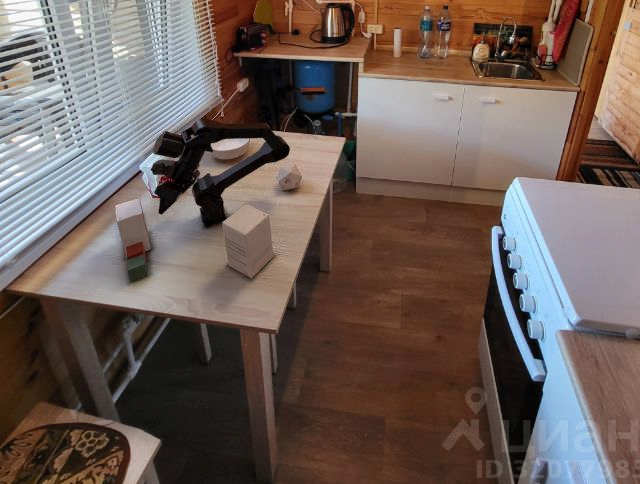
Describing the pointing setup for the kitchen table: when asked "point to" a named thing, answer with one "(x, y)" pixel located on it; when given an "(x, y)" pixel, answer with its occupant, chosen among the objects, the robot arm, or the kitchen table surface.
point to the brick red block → (135, 250)
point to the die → (289, 177)
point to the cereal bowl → (229, 148)
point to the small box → (132, 224)
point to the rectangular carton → (248, 240)
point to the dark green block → (137, 267)
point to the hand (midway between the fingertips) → (167, 206)
